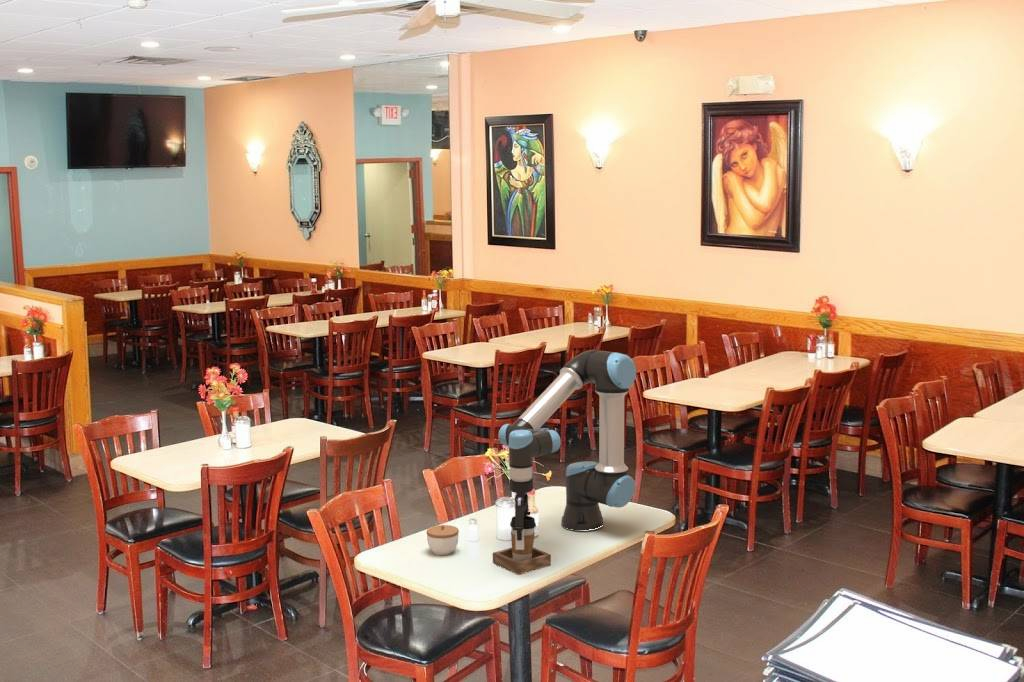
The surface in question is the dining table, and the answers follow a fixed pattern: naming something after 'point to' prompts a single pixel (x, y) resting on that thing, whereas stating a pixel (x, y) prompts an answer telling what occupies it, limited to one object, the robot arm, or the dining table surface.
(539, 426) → the robot arm
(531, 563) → the square brown tray
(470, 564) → the dining table surface
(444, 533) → the lidded jar
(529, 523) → the coffee cup
